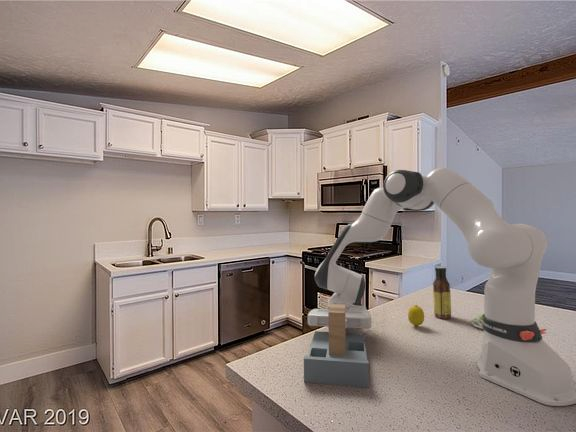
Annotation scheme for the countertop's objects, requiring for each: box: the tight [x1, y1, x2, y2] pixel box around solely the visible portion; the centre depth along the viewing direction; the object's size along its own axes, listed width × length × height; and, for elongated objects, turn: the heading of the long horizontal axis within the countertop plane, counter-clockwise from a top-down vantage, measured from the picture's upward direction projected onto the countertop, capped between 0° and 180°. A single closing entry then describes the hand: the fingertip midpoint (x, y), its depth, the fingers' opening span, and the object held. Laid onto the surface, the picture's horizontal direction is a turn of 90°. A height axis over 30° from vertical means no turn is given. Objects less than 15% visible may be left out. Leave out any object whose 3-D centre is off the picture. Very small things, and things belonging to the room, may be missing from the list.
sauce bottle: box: [432, 266, 452, 320], centre depth 130 cm, size 6×6×20 cm
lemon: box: [407, 304, 425, 328], centre depth 119 cm, size 6×6×8 cm
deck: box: [303, 330, 370, 388], centre depth 94 cm, size 26×16×6 cm, turn 169°
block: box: [328, 304, 347, 356], centre depth 95 cm, size 8×4×12 cm, turn 169°
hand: (338, 327), depth 98 cm, fingers closed
